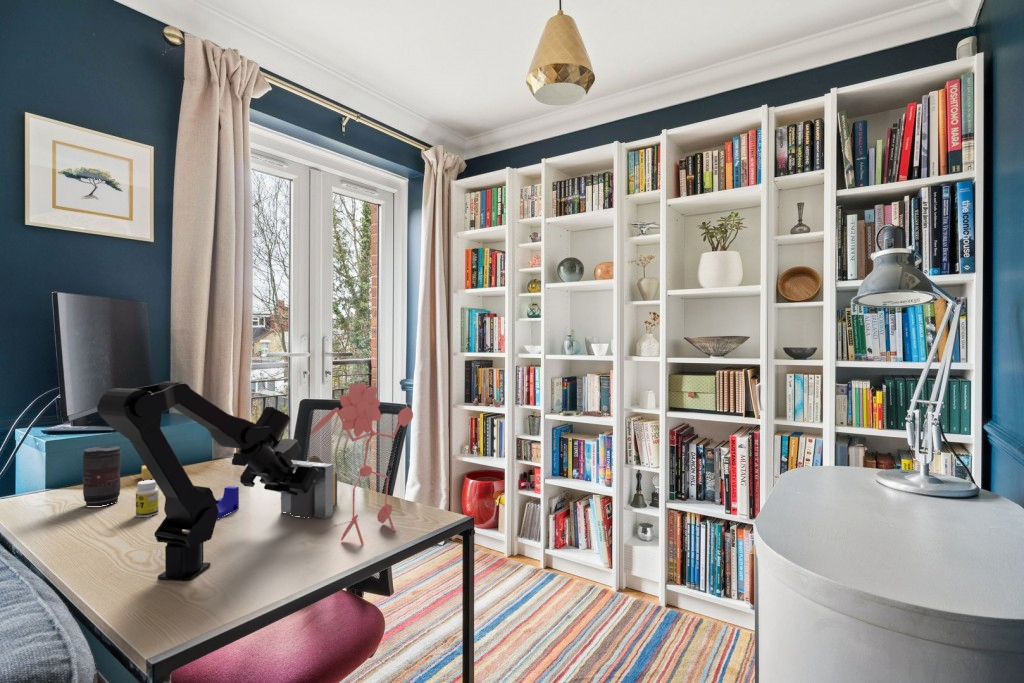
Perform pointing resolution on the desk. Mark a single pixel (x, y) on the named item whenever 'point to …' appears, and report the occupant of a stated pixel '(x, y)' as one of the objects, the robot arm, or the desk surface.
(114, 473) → the camera lens
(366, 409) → the figurine
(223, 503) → the cable clip
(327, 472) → the frame
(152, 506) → the supplement bottle
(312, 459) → the vase
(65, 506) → the desk surface
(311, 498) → the plug
